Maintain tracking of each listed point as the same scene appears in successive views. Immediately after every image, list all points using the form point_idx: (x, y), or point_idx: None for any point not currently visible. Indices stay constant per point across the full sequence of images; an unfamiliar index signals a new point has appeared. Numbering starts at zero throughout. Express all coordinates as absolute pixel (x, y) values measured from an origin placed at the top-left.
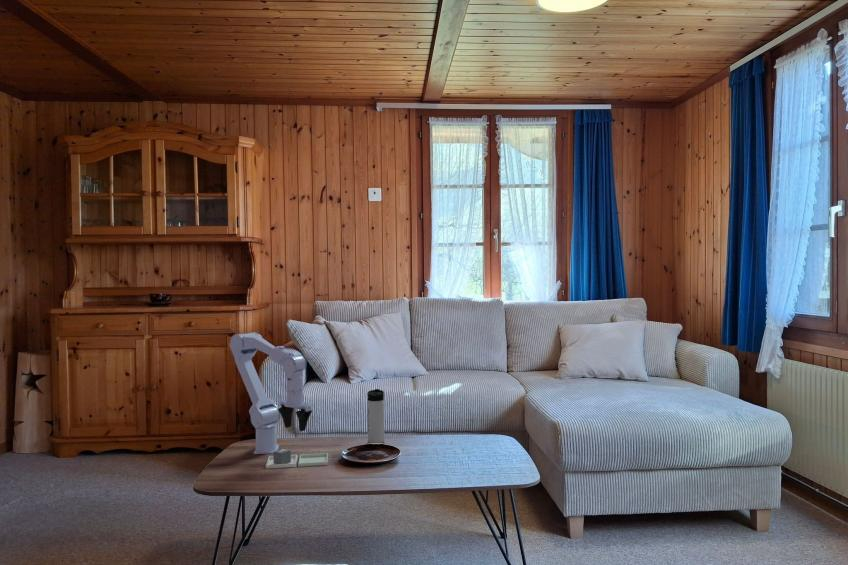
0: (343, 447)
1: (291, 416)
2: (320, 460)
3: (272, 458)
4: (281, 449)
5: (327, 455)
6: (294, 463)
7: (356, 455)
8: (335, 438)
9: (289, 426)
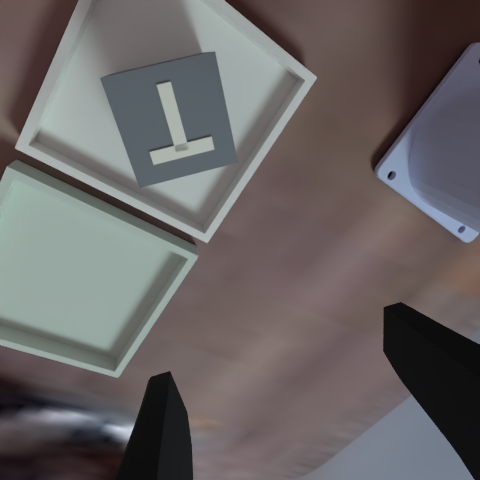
0: (201, 443)
1: (461, 455)
2: (60, 311)
3: (290, 94)
4: (219, 140)
5: (72, 363)
6: (25, 145)
7: (48, 456)
8: (332, 448)
9: (386, 342)
